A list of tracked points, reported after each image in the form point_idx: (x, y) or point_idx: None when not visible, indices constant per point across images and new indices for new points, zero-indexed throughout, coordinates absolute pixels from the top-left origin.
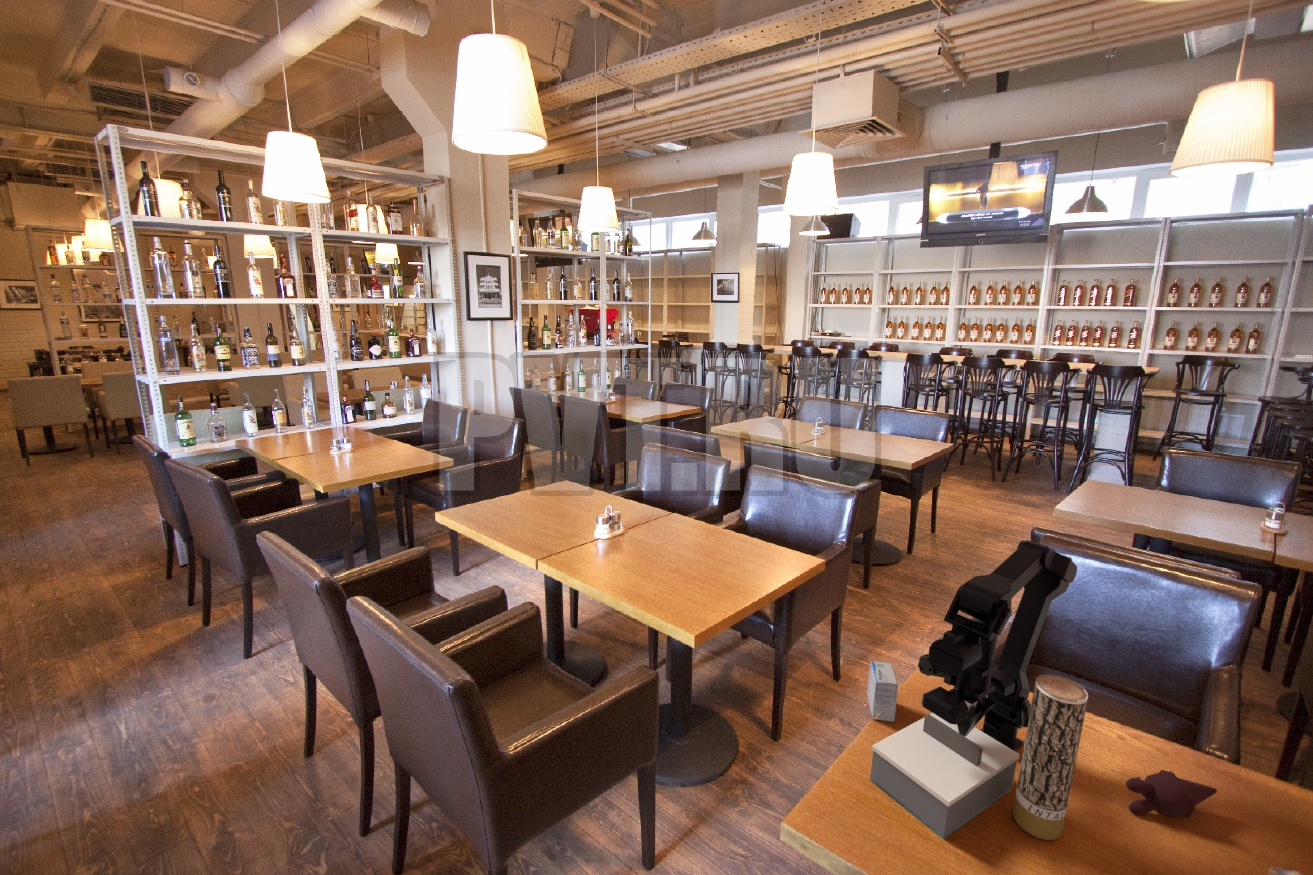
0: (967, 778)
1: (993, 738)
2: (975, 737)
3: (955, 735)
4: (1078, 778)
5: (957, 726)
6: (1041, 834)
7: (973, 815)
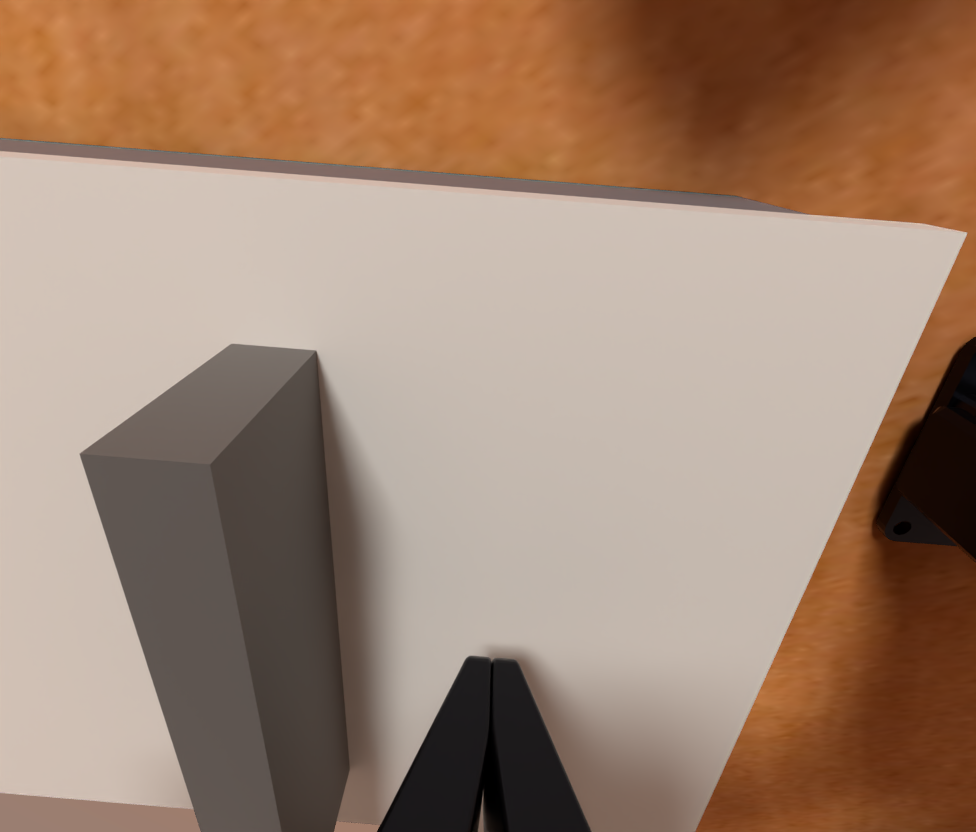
0: (135, 768)
1: (946, 516)
2: (630, 663)
3: (197, 809)
4: (932, 730)
5: (434, 721)
6: None
7: None
